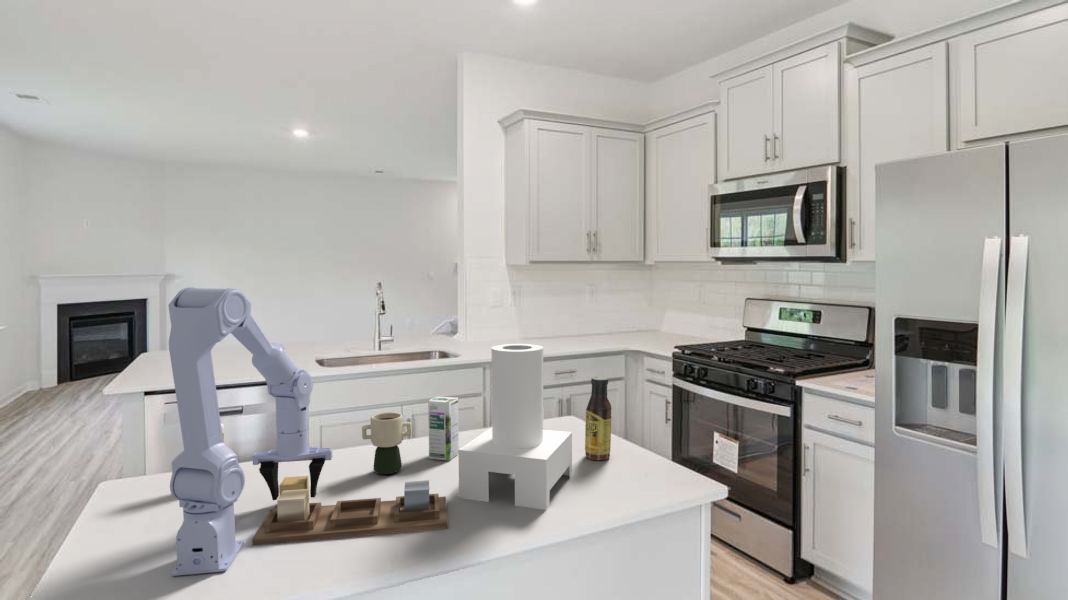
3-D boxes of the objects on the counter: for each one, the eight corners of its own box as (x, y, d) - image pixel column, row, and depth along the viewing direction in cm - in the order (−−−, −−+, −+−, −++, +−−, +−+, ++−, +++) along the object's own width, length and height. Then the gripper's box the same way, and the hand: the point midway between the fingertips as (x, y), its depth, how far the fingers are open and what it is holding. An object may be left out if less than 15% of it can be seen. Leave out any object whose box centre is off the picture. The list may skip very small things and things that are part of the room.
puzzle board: (448, 528, 105) (447, 496, 105) (252, 545, 99) (251, 510, 99) (445, 501, 117) (445, 472, 117) (270, 514, 111) (269, 484, 111)
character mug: (411, 464, 138) (410, 410, 137) (412, 475, 131) (411, 418, 131) (363, 468, 136) (362, 413, 135) (362, 479, 129) (361, 421, 128)
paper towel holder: (546, 510, 113) (546, 356, 111) (459, 497, 119) (457, 352, 117) (571, 476, 131) (572, 343, 129) (494, 466, 137) (493, 339, 135)
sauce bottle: (580, 455, 144) (580, 376, 143) (601, 451, 147) (602, 373, 145) (593, 463, 138) (594, 381, 137) (616, 459, 141) (616, 378, 140)
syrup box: (428, 459, 142) (427, 400, 141) (438, 451, 147) (438, 395, 146) (449, 461, 140) (448, 402, 139) (459, 453, 146) (458, 396, 145)
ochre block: (304, 509, 114) (303, 484, 114) (280, 511, 113) (279, 485, 113) (309, 499, 118) (308, 475, 118) (285, 501, 118) (284, 477, 117)
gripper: (334, 421, 120) (335, 486, 121) (258, 425, 117) (261, 491, 118) (328, 431, 113) (330, 500, 114) (248, 436, 110) (250, 506, 111)
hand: (294, 496), depth 116 cm, fingers open, 6 cm apart
